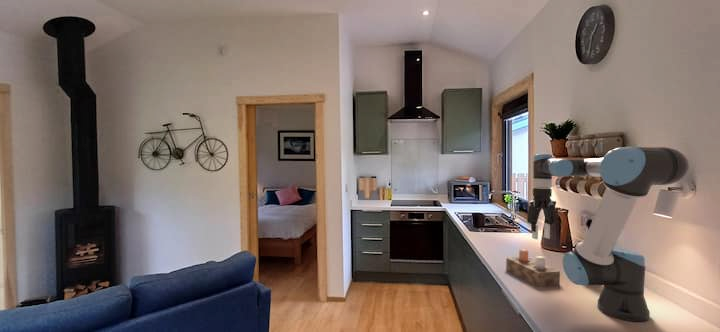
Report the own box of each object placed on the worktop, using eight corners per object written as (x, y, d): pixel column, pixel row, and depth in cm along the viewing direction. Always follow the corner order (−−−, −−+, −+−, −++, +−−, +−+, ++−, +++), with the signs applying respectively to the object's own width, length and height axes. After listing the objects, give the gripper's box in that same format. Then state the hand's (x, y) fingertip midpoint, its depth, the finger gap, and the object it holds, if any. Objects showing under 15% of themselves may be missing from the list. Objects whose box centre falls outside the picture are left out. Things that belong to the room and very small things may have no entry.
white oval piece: (547, 271, 152) (547, 258, 152) (539, 272, 151) (539, 258, 151) (540, 268, 156) (540, 255, 156) (533, 269, 155) (533, 256, 155)
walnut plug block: (559, 284, 149) (559, 271, 149) (538, 286, 147) (538, 273, 147) (525, 268, 171) (525, 256, 171) (506, 269, 169) (506, 257, 168)
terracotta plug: (529, 263, 163) (530, 251, 162) (522, 264, 162) (523, 251, 162) (524, 261, 167) (524, 249, 166) (517, 261, 166) (517, 249, 165)
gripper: (553, 186, 158) (551, 235, 159) (518, 187, 154) (517, 237, 155) (566, 188, 150) (564, 239, 151) (530, 189, 146) (529, 241, 147)
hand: (540, 238), depth 153 cm, fingers open, 6 cm apart
